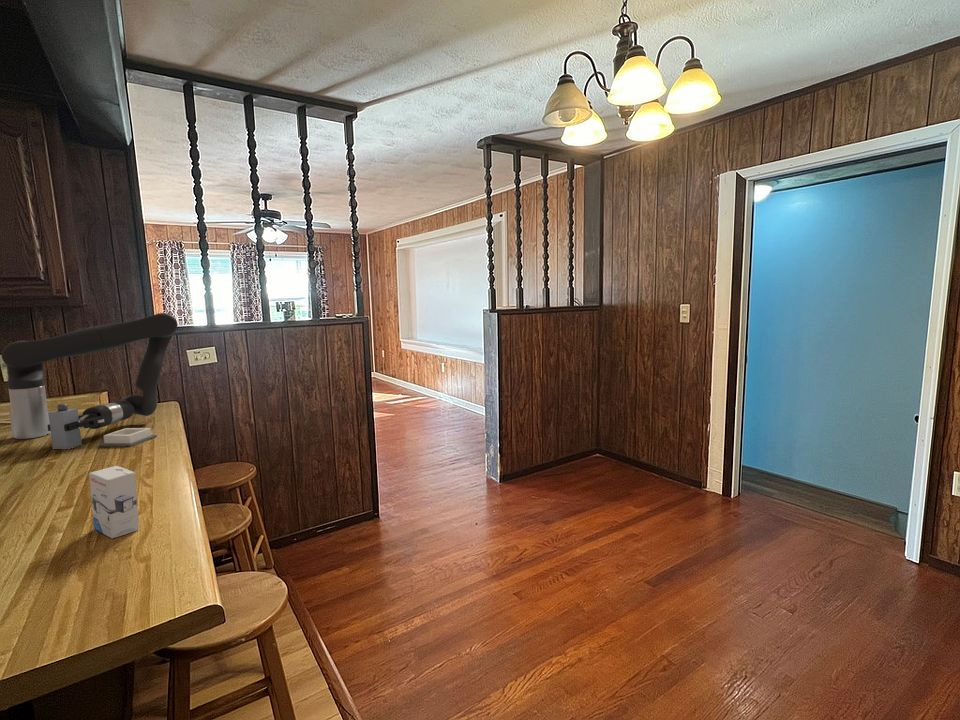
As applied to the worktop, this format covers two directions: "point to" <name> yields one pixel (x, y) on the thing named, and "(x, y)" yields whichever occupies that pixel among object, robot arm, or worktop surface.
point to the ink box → (114, 501)
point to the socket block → (127, 437)
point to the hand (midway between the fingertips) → (57, 428)
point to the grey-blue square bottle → (58, 434)
